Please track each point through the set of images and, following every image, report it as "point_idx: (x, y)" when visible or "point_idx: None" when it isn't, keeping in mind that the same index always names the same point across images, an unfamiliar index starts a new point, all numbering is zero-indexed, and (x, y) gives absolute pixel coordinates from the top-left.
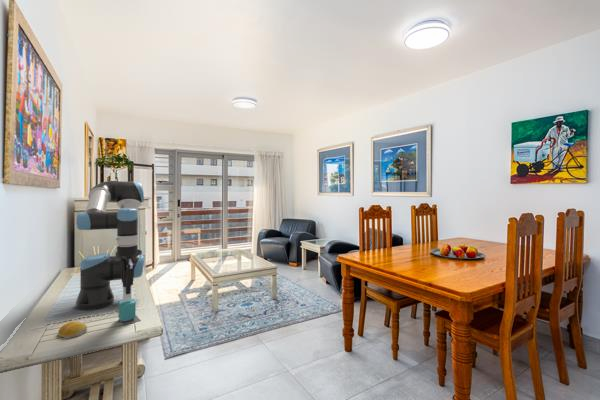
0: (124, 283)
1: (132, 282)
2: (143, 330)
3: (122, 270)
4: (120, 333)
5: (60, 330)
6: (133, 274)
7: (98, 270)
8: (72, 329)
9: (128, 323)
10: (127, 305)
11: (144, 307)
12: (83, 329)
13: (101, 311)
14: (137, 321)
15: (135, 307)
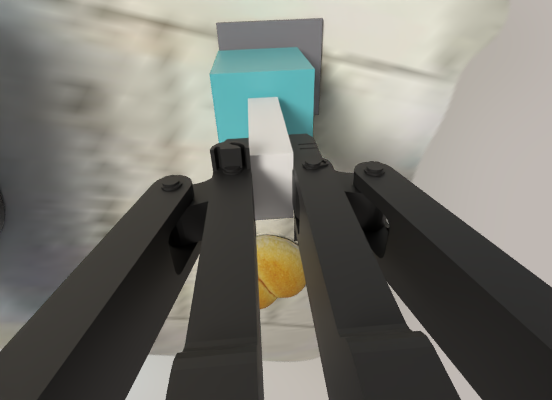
0: (255, 225)
1: (408, 188)
2: (460, 41)
3: (129, 373)
4: (400, 138)
5: (267, 306)
6: (518, 267)
7: None
8: (301, 287)
9: (319, 89)
10: (311, 123)
11: None
12: (299, 254)
13: (50, 172)
14: (321, 38)
15: (308, 61)
